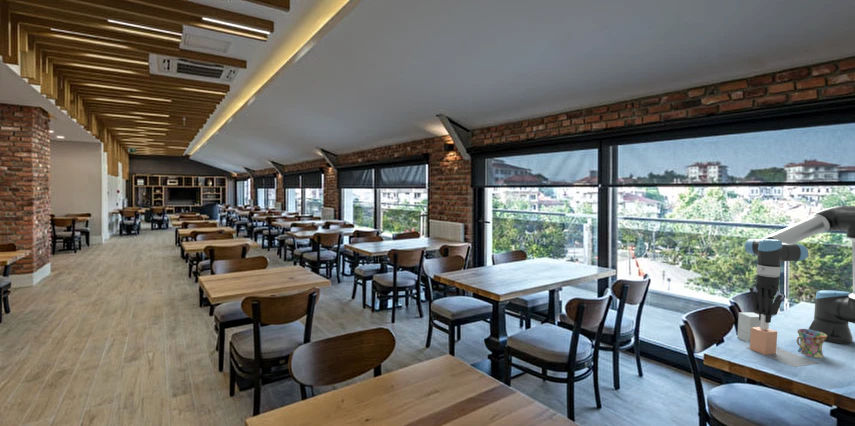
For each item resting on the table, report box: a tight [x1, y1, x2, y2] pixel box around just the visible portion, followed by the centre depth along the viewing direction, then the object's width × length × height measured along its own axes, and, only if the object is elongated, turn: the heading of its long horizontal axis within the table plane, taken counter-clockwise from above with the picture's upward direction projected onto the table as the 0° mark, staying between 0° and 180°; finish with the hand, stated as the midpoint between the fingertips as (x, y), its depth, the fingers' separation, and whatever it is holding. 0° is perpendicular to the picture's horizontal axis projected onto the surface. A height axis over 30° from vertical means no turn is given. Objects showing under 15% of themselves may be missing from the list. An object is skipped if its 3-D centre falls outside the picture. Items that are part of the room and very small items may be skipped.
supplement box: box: [736, 311, 760, 343], centre depth 186 cm, size 7×7×13 cm
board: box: [746, 346, 821, 368], centre depth 167 cm, size 14×19×2 cm
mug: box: [796, 328, 827, 358], centre depth 168 cm, size 12×9×11 cm
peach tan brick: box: [749, 327, 778, 356], centre depth 170 cm, size 6×6×10 cm
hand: (764, 328), depth 170 cm, fingers closed
